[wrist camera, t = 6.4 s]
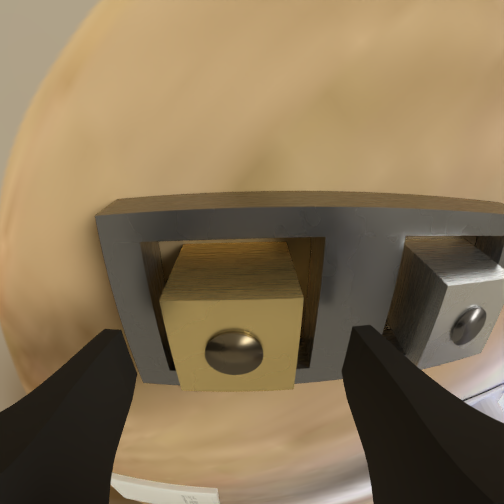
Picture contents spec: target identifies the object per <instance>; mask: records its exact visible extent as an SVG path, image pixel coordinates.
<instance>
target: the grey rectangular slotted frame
mask: <svg viewBox="0 0 504 504" xmlns="http://www.w3.org/2000/svg"><path fill="white" fill-rule="evenodd" d="M95 218H96V224H97V229H98V234H99V239H100V243H101V248H102V252H103V257H104V261H105V265H106V269H107V273H108V277H109V281H110V285H111V288H112V292H113V295H114V299H115V302H116V306H117V309H118V312H119V316H120V319H121V322H122V325H123V328H124V331H125V334H126V337H127V340H128V343H129V346H130V349H131V351H132V354H133V357H134V360H135V362H136V365H137V368H138V370H139V373H140V375H141V378H142V380H143V383H154V384H168V385H180V382H179V379H178V375H177V372H176V368H175V364H174V361H173V357H172V353H171V349H170V345H169V341H168V337H167V333H166V328H165V324H164V320H163V315H162V311H161V306H160V301H159V300H160V298H161V295H162V293H163V290H164V288H165V286H166V284H165V279H164V273H163V267H162V261H161V255H160V248H159V242H158V241H180V240H212V239H247V238H290V237H311V251H310V265H309V277H308V289H307V299H306V310H305V319H304V329H303V338H300V341H299V349H298V358H297V366H296V374H295V382H294V384H297V383H309V382H320V381H329V380H337V379H343V377H342V367H343V363H344V359H345V356H346V352H347V347H348V343H349V339H350V335H351V331H352V326H362V325H371V326H372V327H374V328H375V329H376V330H377V331H378V332H379V333H380V334H381V335H383V336H384V337H385V338H386V339H387V340H388V341H389V342H390V343H391V344H392V345H394V346H395V347H396V348H397V349H398V350H399V351H400V352H401V353H402V354H403V355H405V356H406V354H405V352H404V350H403V349H402V347H401V345H400V343H399V342H398V340H397V338H396V337H395V335H394V333H393V331H392V330H391V329H390V330H384V326H385V323H386V319H387V316H388V312H389V309H390V305H391V301H392V297H393V293H394V289H395V285H396V281H397V277H398V272H399V268H400V263H401V258H402V253H403V248H404V243H405V237H406V236H478V237H477V241H476V245H475V247H476V248H477V249H479V250H480V251H481V252H483V253H484V254H485V255H487V256H488V257H489V258H491V259H492V260H493V261H494V262H496V263H497V264H498V265H500V266H501V267H502V268H503V269H504V204H503V203H498V202H490V201H481V200H471V199H461V198H450V197H438V196H424V195H409V194H391V193H368V192H332V191H261V192H224V193H200V194H181V195H165V196H151V197H138V198H126V199H117V200H116V201H114V202H113V203H111V204H110V205H109V206H107V207H106V208H105V209H103V210H102V211H101V212H99V213H98V214H97V215H95ZM406 357H407V356H406ZM407 358H408V357H407Z"/></svg>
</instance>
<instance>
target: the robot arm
mask: <svg viewBox="0 0 504 504" xmlns="http://www.w3.org/2000/svg"><path fill="white" fill-rule="evenodd" d="M136 377H137V372H136V370H135V367H134V365H133V362H132V359H131V357H130V354H129V351H128V348H127V346H126V343H125V340H124V337H123V334H122V331H121V330H112V329H104V330H103V331H102V332H101V333H99V334H98V335H97V336H96V337H95V338H93V339H92V340H91V341H90V342H89V343H88V344H87V345H86V346H84V347H83V348H82V349H81V350H80V351H79V352H78V353H77V354H76V355H74V356H73V357H72V358H71V359H70V360H69V361H68V362H67V363H65V364H64V365H63V366H62V367H61V368H60V369H59V370H57V371H56V372H55V373H54V374H53V375H51V376H50V377H49V378H48V379H47V380H45V381H44V382H43V383H42V384H41V385H39V386H38V387H37V388H36V389H34V390H33V391H32V392H30V393H29V394H28V395H26V396H25V397H23V398H22V399H21V400H19V401H18V402H17V403H15V404H13V405H12V406H10V407H9V408H7V409H5V410H3V411H2V412H0V504H109V493H110V484H111V476H112V469H113V463H114V459H115V454H116V451H117V447H118V444H119V441H120V437H121V434H122V431H123V428H124V425H125V421H126V418H127V415H128V412H129V409H130V406H131V402H132V398H133V393H134V388H135V383H136ZM342 377H343V382H344V387H345V392H346V396H347V400H348V403H349V406H350V409H351V412H352V415H353V418H354V421H355V424H356V427H357V430H358V433H359V436H360V439H361V442H362V446H363V449H364V452H365V455H366V459H367V463H368V469H369V474H370V480H371V486H372V494H373V502H374V504H504V411H503V409H502V408H501V406H500V405H499V403H498V401H499V399H500V398H501V396H502V395H503V394H504V384H503V385H501V386H499V387H496V388H494V389H492V390H490V391H488V392H485V393H483V394H481V395H478V396H476V397H473V398H471V399H468V400H466V401H462V400H461V399H459V398H458V397H456V396H455V395H453V394H451V393H450V392H449V391H447V390H446V389H445V388H443V387H442V386H441V385H439V384H438V383H437V382H435V381H434V380H433V379H432V378H430V377H429V376H428V375H427V374H425V373H424V372H423V371H422V370H421V369H419V368H418V367H417V366H416V365H415V364H414V363H412V362H411V361H410V360H409V359H408V358H407V357H406V356H405V355H403V354H402V353H401V352H400V351H399V350H398V349H397V348H396V347H395V346H394V345H392V344H391V343H390V342H389V341H388V340H387V339H386V338H385V337H384V336H383V335H381V334H380V333H379V332H378V331H377V330H376V329H375V328H374V327H372V326H371V325H362V326H352V331H351V335H350V339H349V343H348V347H347V352H346V356H345V359H344V363H343V367H342Z"/></svg>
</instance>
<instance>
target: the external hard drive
mask: <svg viewBox="0 0 504 504" xmlns="http://www.w3.org/2000/svg"><path fill="white" fill-rule="evenodd" d="M111 485H112V486H113V487H114V488H115V489H116V490H117V491H118V492H119V493H120V494H121V495H122V496H123V497H125V498H128V499H132V500H137V501H142V502H148V503H153V504H220V500H219V494H218V489H217V488H206V487H194V486H185V485H176V484H169V483H162V482H156V481H150V480H144V479H139V478H134V477H129V476H125V475H120V474H116V473H112V476H111Z"/></svg>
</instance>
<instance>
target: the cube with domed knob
mask: <svg viewBox="0 0 504 504" xmlns="http://www.w3.org/2000/svg"><path fill="white" fill-rule="evenodd" d="M503 305H504V269H503V268H502V267H501V266H500V265H498V264H497V263H496V262H494V261H493V260H492V259H491V258H489V257H488V256H487V255H485V254H484V253H483V252H481V251H480V250H479V249H477V248H476V247H475V246H473V245H472V244H471V243H469V242H468V241H466V240H465V239H405V243H404V248H403V253H402V258H401V263H400V268H399V272H398V277H397V281H396V285H395V289H394V293H393V297H392V301H391V305H390V309H389V312H388V316H387V319H386V321H387V323H388V325H389V326H390V328H391V330H392V331H393V333H394V335H395V337H396V338H397V340H398V342H399V343H400V345H401V347H402V349H403V350H404V352H405V354H406V356H407V357H408V359H409V360H410V361H411V362H412V363H414V364H415V365H416V366H417V367H418V368H419V369H425V368H430V367H434V366H438V365H441V364H445V363H449V362H453V361H456V360H460V359H463V358H466V357H470V356H473V355H476V354H479V353H481V352H482V350H483V348H484V346H485V344H486V342H487V340H488V338H489V336H490V334H491V332H492V330H493V327H494V325H495V323H496V321H497V319H498V316H499V314H500V312H501V309H502V307H503Z"/></svg>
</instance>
